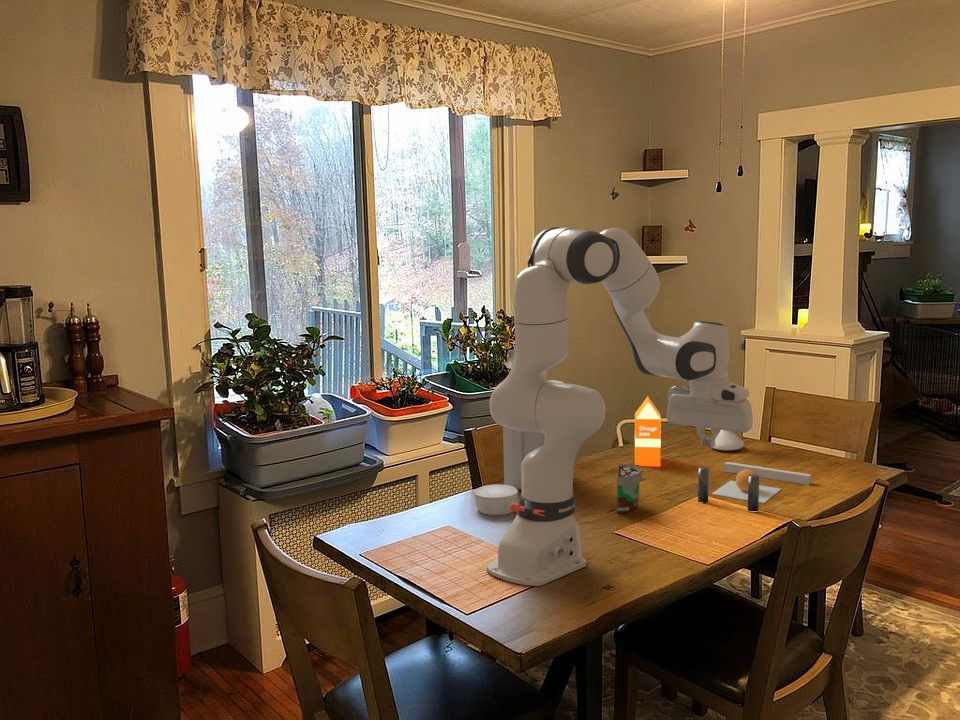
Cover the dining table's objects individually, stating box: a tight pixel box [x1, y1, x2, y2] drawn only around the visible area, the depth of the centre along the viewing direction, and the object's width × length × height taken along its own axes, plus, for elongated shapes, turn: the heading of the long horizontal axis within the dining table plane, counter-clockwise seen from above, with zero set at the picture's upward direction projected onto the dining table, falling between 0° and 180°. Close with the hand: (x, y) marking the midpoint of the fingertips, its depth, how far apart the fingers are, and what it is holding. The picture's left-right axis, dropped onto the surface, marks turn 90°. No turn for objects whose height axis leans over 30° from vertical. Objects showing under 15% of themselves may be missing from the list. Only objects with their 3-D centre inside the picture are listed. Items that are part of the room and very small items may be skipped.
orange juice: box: [634, 396, 662, 467], centre depth 248 cm, size 8×9×20 cm
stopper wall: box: [723, 461, 812, 486], centre depth 231 cm, size 2×24×2 cm, turn 52°
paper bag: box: [502, 379, 565, 490], centre depth 227 cm, size 19×15×28 cm
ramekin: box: [473, 484, 519, 516], centre depth 209 cm, size 11×11×5 cm
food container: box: [616, 463, 643, 515], centre depth 207 cm, size 12×6×10 cm, turn 168°
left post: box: [697, 466, 710, 504], centre depth 211 cm, size 3×3×9 cm
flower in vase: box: [711, 430, 745, 451], centre depth 260 cm, size 13×11×25 cm
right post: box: [747, 475, 760, 512], centre depth 203 cm, size 3×3×9 cm
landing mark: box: [711, 480, 782, 504], centre depth 219 cm, size 14×14×1 cm
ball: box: [735, 470, 757, 492], centre depth 218 cm, size 6×6×6 cm
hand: (707, 445), depth 194 cm, fingers closed
